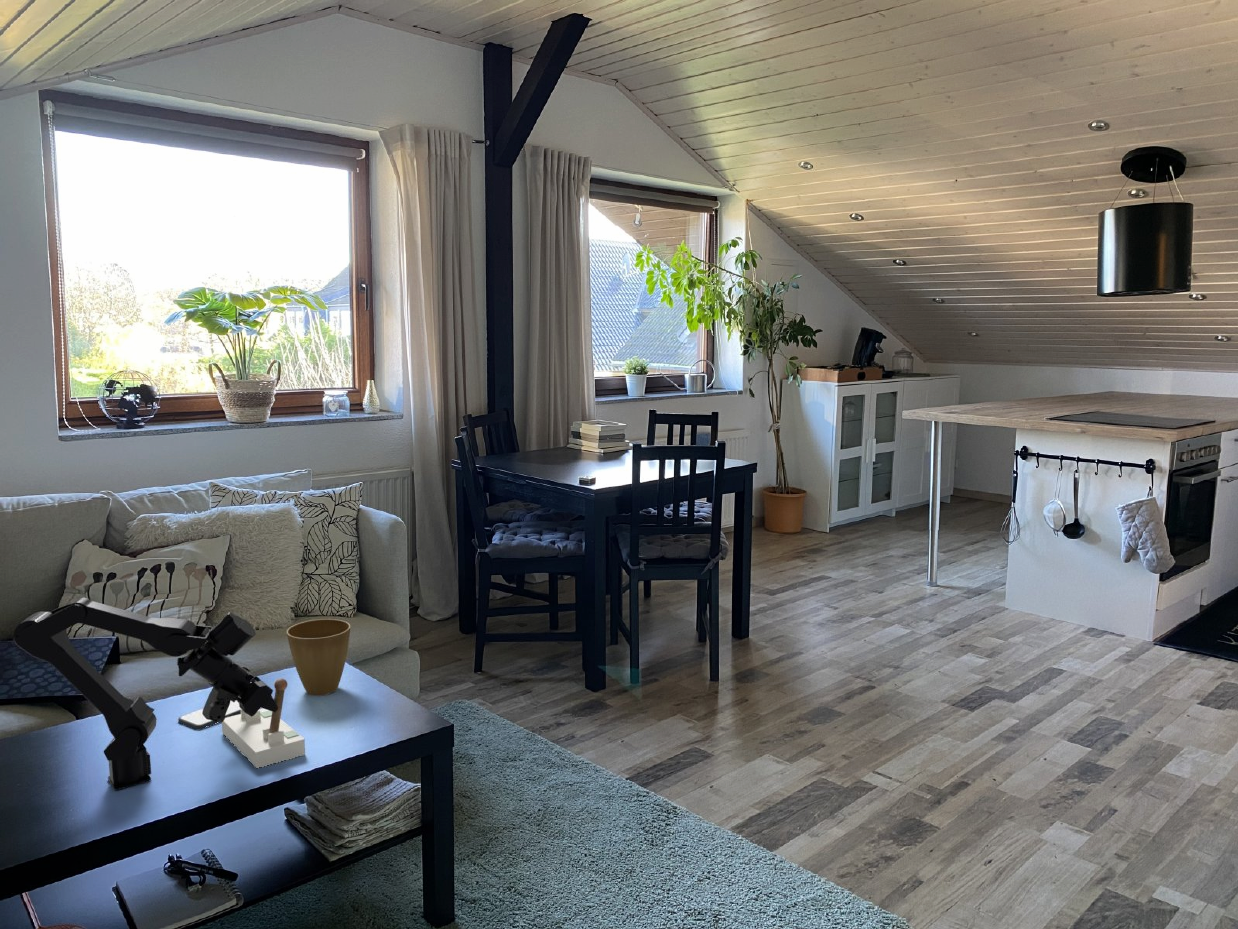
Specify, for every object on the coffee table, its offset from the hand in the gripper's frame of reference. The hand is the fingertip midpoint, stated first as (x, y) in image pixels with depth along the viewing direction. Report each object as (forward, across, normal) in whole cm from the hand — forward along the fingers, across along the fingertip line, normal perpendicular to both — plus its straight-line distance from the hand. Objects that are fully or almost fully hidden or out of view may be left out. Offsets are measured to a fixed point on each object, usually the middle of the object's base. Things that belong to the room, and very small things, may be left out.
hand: (276, 710), depth 196 cm
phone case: (+4, -31, -10) cm, 33 cm away
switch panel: (+6, -8, -8) cm, 13 cm away
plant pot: (+21, -31, +8) cm, 38 cm away
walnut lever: (+4, -1, -4) cm, 6 cm away
